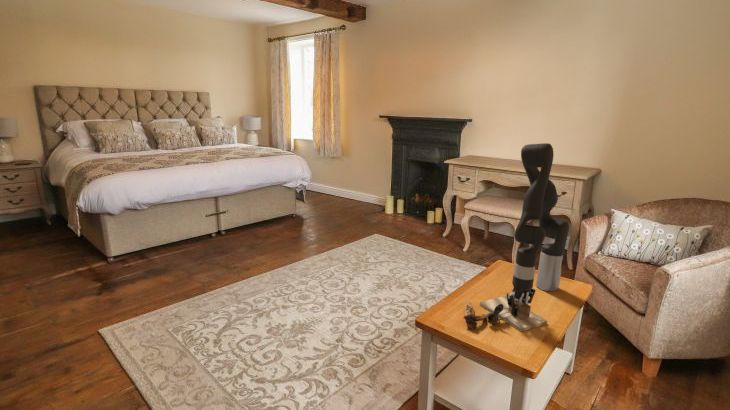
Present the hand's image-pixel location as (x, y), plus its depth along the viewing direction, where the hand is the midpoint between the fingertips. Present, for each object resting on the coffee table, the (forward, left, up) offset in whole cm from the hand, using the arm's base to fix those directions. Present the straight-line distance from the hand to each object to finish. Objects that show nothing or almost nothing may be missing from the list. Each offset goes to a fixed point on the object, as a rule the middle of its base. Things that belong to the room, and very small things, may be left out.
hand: (518, 314), depth 157 cm
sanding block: (0, 0, 0) cm, 0 cm away
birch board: (0, -3, -1) cm, 3 cm away
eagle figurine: (+11, -2, -2) cm, 11 cm away
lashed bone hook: (+17, -6, -2) cm, 18 cm away
